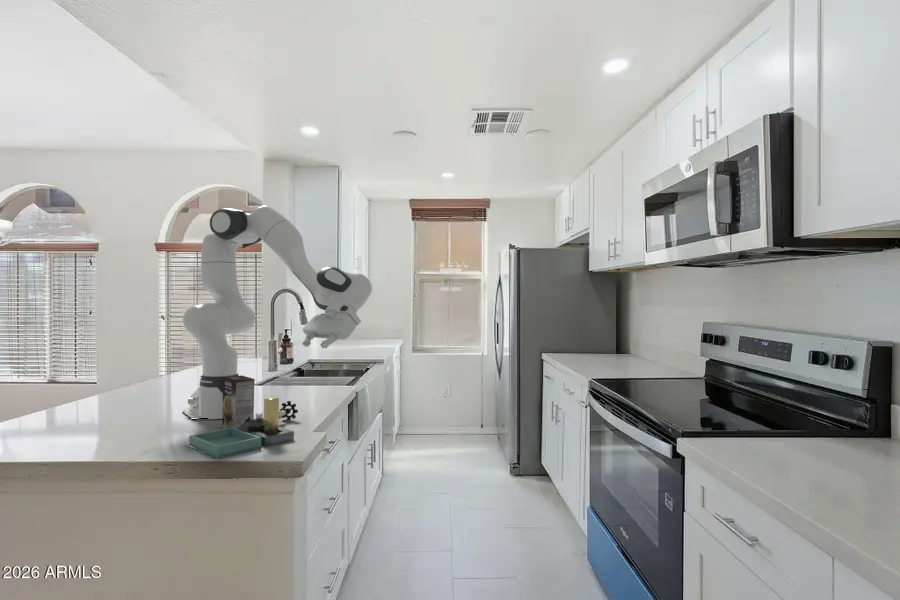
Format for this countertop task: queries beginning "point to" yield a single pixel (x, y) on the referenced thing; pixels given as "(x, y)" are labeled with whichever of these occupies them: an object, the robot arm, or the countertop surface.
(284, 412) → the valve
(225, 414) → the coffee box
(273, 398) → the pin
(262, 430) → the block
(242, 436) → the tray
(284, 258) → the robot arm
